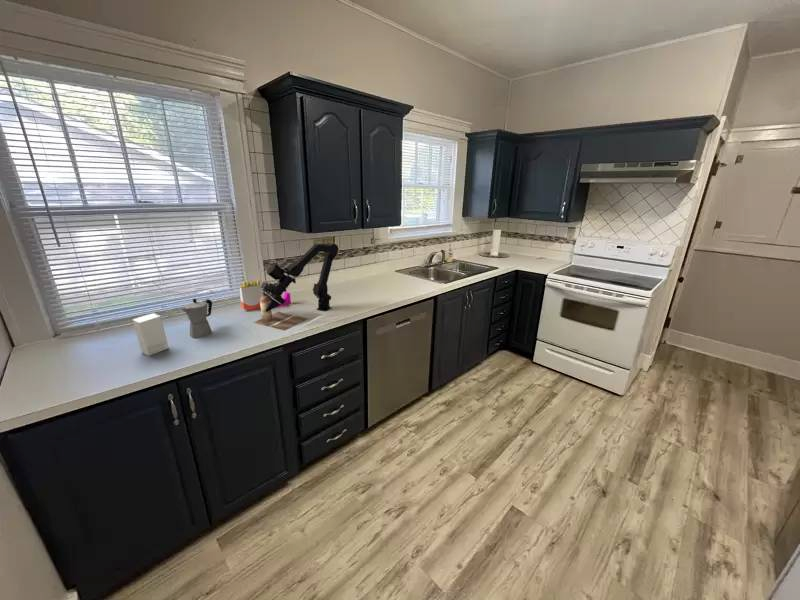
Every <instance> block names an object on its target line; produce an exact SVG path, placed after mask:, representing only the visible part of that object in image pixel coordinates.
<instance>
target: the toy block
mask: <svg viewBox="0 0 800 600" xmlns="http://www.w3.org/2000/svg"><path fill="white" fill-rule="evenodd" d="M283 293H284V294H283V296H282V298H283V299H285V303H284V304H283V305H282V304H281V305H280V306H278V307H275V308H274V309H276V308H281V307H286V306H285V305H287V306H291V305H292V302H291V301H292V300H291V292H289V291H286V292H285V291H284V292H283ZM270 302H271V300H270ZM290 304H291V305H290Z"/></svg>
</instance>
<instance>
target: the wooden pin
mask: <svg viewBox="0 0 800 600" xmlns="http://www.w3.org/2000/svg"><path fill="white" fill-rule="evenodd" d="M269 304H270V298H269V297H268V296H263V295H262V297H261V298H260V307H261V308H260V313H261V319H262V321H263V322H269V321H272V314H273V313H272V310H270V311H268V312H267V311H265V310H266V308H267V307H268V305H269Z"/></svg>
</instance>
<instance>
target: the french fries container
mask: <svg viewBox="0 0 800 600" xmlns="http://www.w3.org/2000/svg"><path fill="white" fill-rule="evenodd" d="M260 281H261V280H260V279H258V280H257V281H255V280H254V279H253V280H252V282H250V281H249V280H248V281H243V285H242V284H241V285H240V286H239V297H240V305H241V307H240V308H242V309H243V310H245V311H246V312H250V311H255V310H259V309H261V307H260V298H261V297H262V296H263V293H262V292H263V291H262V290H263V288H261V286H262V284H261V282H260Z"/></svg>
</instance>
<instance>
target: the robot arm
mask: <svg viewBox="0 0 800 600" xmlns="http://www.w3.org/2000/svg"><path fill="white" fill-rule="evenodd" d="M339 249H340V248H339V246H338V244H335V243H332V242H327V243H314V244H313V245H312V246H311V247H310V248H309V249H308V250H307V251H306V252H305V253H304V254H303V255H302V256H301V257H300V258H299V259H298V260H296V261H294V262H291V263H290V264H289V265H287V266H286V267H283V268H281V267H280V265H278V264H277V263H274V264H273V265H271V266H269V268H268V269H267V270H266V274H267V275H268V276H269V277H271V278H272V279H274V280H275V281H277V282H274V283H273V282H266V281H262V284H261V289H262V296H268V297H269V298H270V300H271V302H270V304H269V305H268V307H267V308H266V310H265V311H267V312H268V311H270V310H271V311H272V310H273V309H276V308H279V307H278V306H280V305H281V304H282V305H283V304H284V303H285V299H283V296H282V295H284V294H283V293H284V292H288V290H287V289H288V287H289V286H290V285H291V284H292V283H293V284H296V283H297V281H296V278H297V277H299V276H300V275H301V273H303V271H304V269H305V267H306V266H307V264H309V263H310V262H311V261H312V260H313V258H315V257H317V255H318V254H319V253H320V252H323V255H324V256H323V257H324V259H323V261H322V262H323V263H322V267H321V271H320V275H319V277H318V278H319V279H318V282H317V283H314V284H313V287H312V292H313V295H314V296H315V297H316V298H317V299H318V302H317V303H318V304H317V305H318V308H316V310H318V311H322V312H327V311H329V310H331V309H332V306H330V301H331V299H332V296H331V295H330V294H329V293H328V289H329V288H328V280H329V275H330V273H331V268H332V266H333V261H334V259H335V258H336V257H337V255H338V252H339V251H340V250H339ZM275 307H276V308H275Z"/></svg>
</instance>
